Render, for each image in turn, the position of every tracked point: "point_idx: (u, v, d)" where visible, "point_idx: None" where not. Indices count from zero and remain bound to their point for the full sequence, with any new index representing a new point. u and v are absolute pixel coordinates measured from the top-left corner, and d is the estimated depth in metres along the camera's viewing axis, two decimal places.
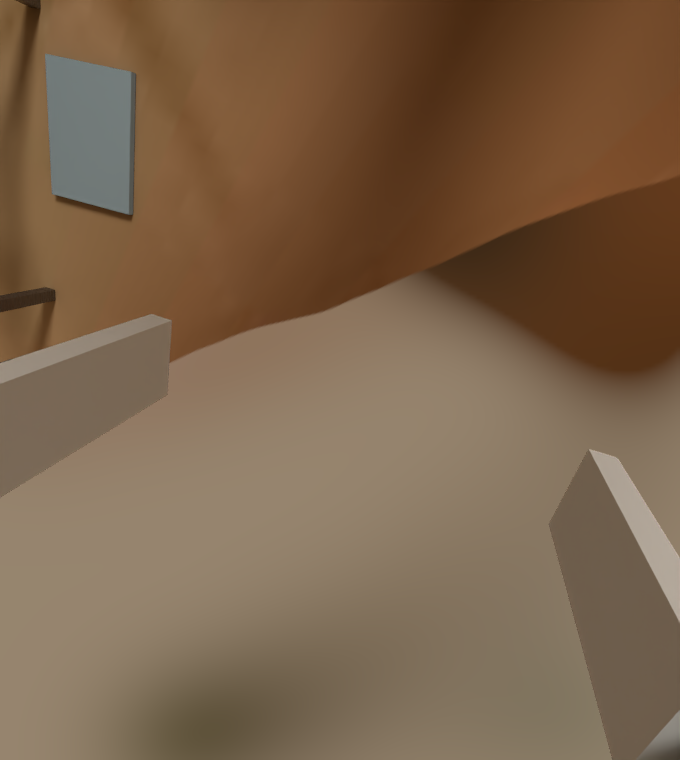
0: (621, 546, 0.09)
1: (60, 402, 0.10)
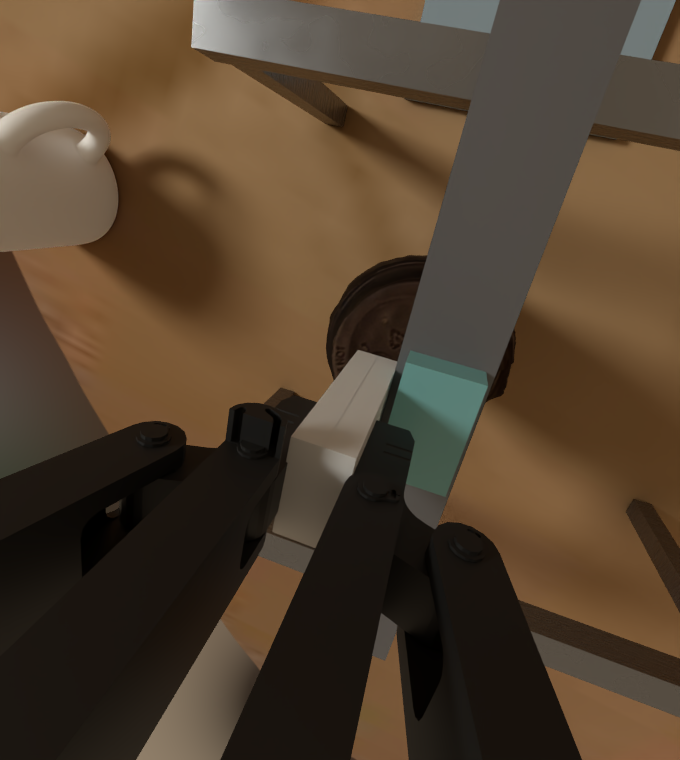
0: None
1: None
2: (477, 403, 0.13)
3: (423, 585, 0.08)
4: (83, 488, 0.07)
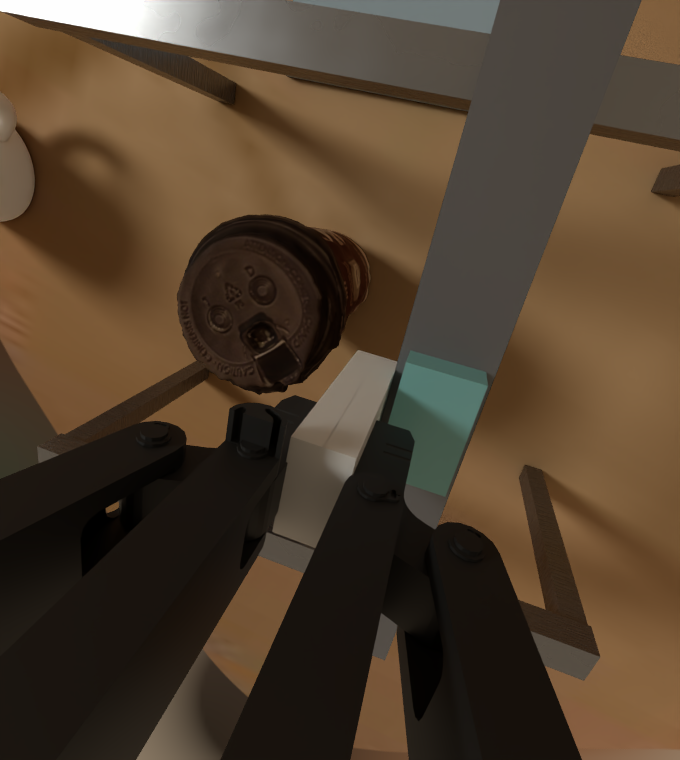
0: None
1: None
2: (477, 403, 0.13)
3: (422, 585, 0.08)
4: (83, 488, 0.07)
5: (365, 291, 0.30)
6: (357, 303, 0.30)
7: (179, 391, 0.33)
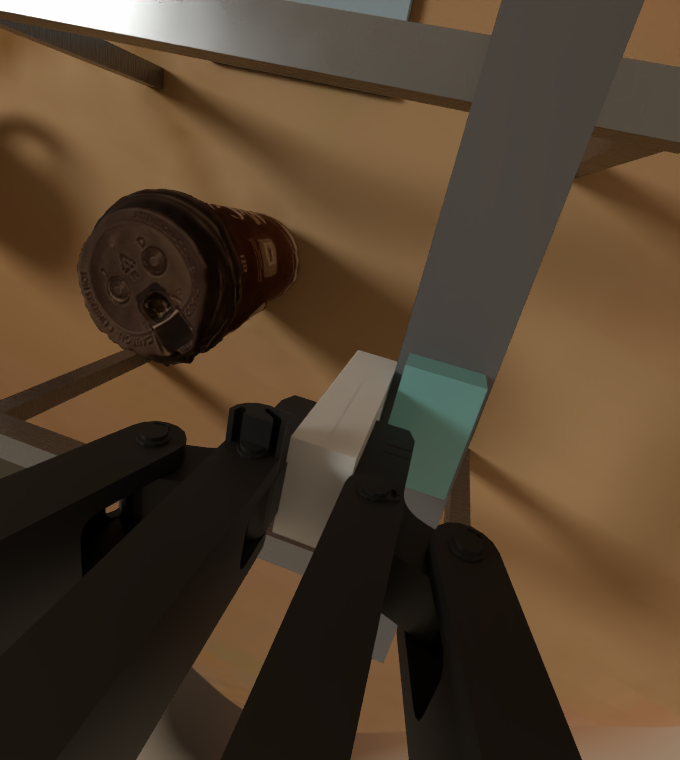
0: None
1: None
2: (477, 406, 0.13)
3: (422, 585, 0.08)
4: (83, 488, 0.07)
5: (293, 272, 0.31)
6: (285, 284, 0.31)
7: (117, 371, 0.34)
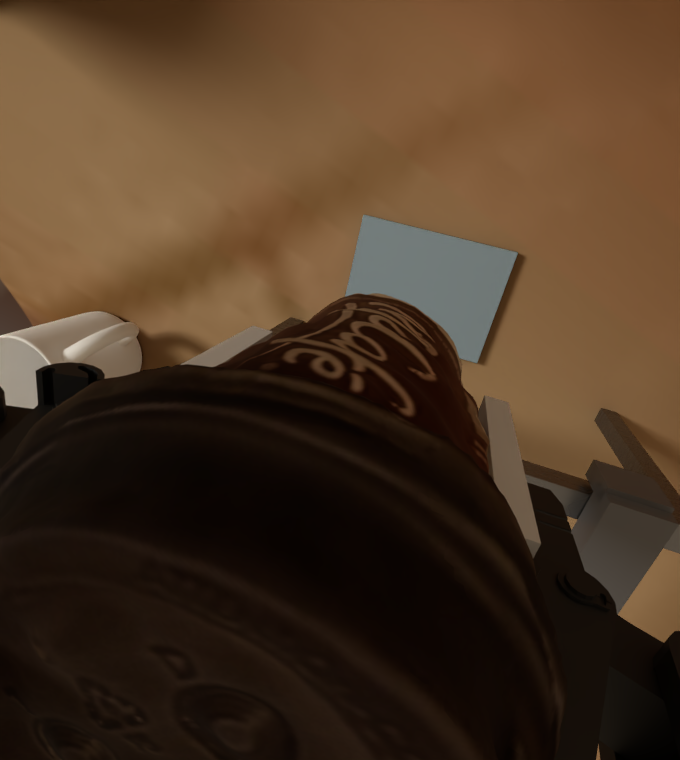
0: None
1: None
2: None
3: (665, 716, 0.06)
4: None
5: None
6: None
7: None
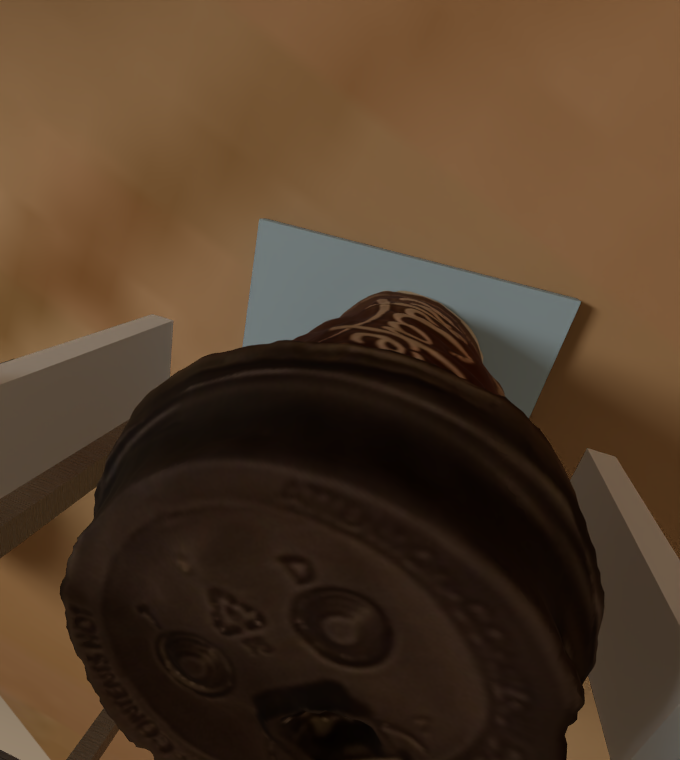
0: (619, 545, 0.09)
1: (62, 402, 0.10)
2: None
3: None
4: None
5: None
6: None
7: (113, 733, 0.26)
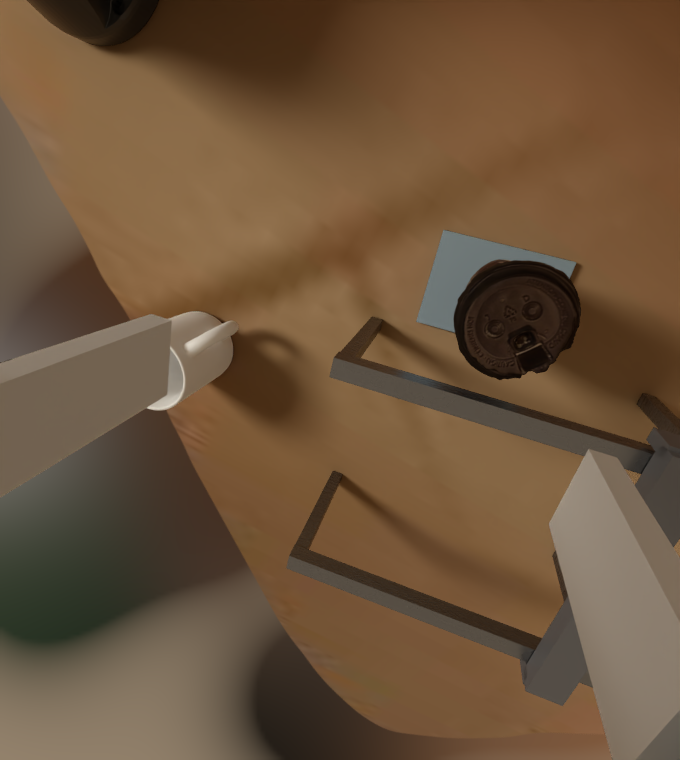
0: (621, 546, 0.09)
1: (60, 402, 0.10)
2: None
3: None
4: None
5: None
6: None
7: (331, 498, 0.50)
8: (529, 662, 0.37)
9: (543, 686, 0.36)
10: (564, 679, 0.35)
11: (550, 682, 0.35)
